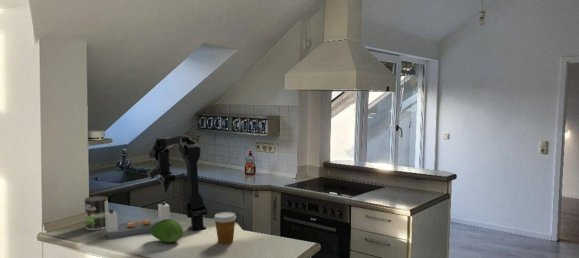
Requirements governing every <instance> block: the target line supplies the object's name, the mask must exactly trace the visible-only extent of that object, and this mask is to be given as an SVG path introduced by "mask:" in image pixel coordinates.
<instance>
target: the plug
mask: <svg viewBox="0 0 579 258" xmlns="http://www.w3.org/2000/svg"><path fill="white" fill-rule="evenodd" d="M170 206H171V205H169V204H168V203H166V201H165V200H164V201H161V204H160V203H159V204H157V208H158V209H157V210H158V211H157V212H158V220H159V221H162V220H165V219H171V213H170V212H171V210H170V209H171V207H170Z"/></svg>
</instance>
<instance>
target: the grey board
mask: <svg viewBox="0 0 579 258" xmlns="http://www.w3.org/2000/svg"><path fill="white" fill-rule="evenodd" d="M150 222H151V223H150V224H142V223H137V224H135V226H132V227H127V224H126V225H121V226H120V225H119V226H118V231H115V232H108V231H107V230H106V229H105V235H106V237H107V238H108V239H109V240H112V239H118V238H122V237H123V238H124V237H128V236H133V235H134V236H135V235H139V234H145V233H150V231H151V228H152V226H153V225H154V224H156V223H157V222H160V221H159V219H155V220H150Z"/></svg>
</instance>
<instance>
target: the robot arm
mask: <svg viewBox="0 0 579 258" xmlns="http://www.w3.org/2000/svg"><path fill="white" fill-rule="evenodd" d="M177 145H178V151H179V152H180V154H181V156H182V159H183V161H184V163H186V164H185V165H186V177H187V181H186V182H187V195H186V196H185V197H184V198H183V199H184V209H185V215H186V217H187V218H188V219H190V223H191V224H190V226H188V229H190V230H192V231H194V232H195V231H200V230H205V229H207V227H206V226H205V225H204V216H206V215H208V213H209V212H208V211H209V210H208V208H207V206H206V205H205V203H204V199H203V196H202V195H201V194H200V191H199V189H200V188H199V175H198V171H199V169H198V162H199V160H200V159H201V158H200V157H201V147H200V145H199V144H198V143H197V142H196V141H195V140H194V139H191V138H190V137H189V136H188V135H186V134H180V135H178V136H173V137H168V136H167V137H158V138H156V139H155V142H154V145H153V147H152V150H151V149H150V152H149V154H148V157H149V159H150V160H152V161H156V162H158V163H157V164H156V167H153V168H152V169H149V170H147V171H146V174H147V176H148V177H149V178H150V179H153V178H155V177H158V178H157V180H158V181H159V182H160V183H161V186H162V189H163V192H164V193H167V192H168V189H169V187H170V185H171V183H172V182H175V181H177V176H176V175H175V174H173V173H172V171H171V167H172V163H171V158H170V157H171V154H172V151H171V150H170V149H171V148H172V147H173V146H177Z"/></svg>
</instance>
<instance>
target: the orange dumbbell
mask: <svg viewBox="0 0 579 258" xmlns="http://www.w3.org/2000/svg"><path fill="white" fill-rule="evenodd" d="M150 221H151V220H150V219H146V220H140V221H139V220H138V221H133V222H128V223H126V225H127V227H132V226H135V224H137V223H142V224H150V223H151V222H150Z"/></svg>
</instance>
